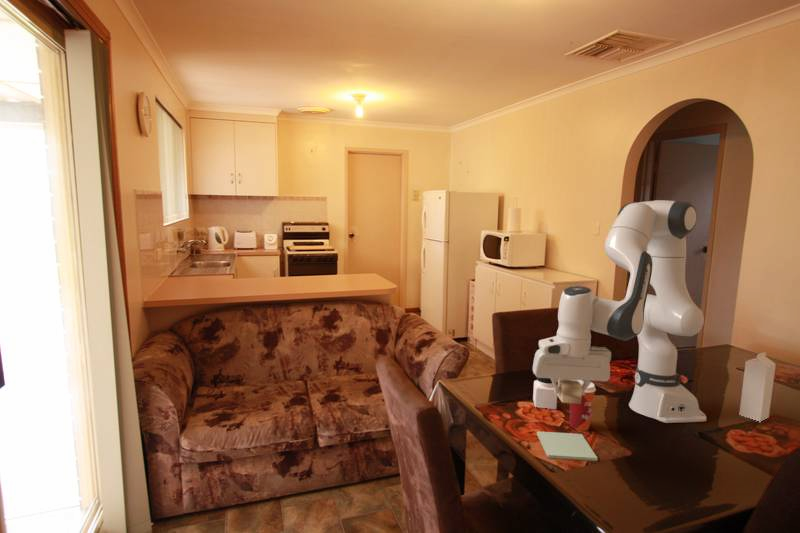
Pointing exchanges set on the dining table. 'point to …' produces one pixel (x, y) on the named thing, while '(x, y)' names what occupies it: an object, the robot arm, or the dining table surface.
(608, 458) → the dining table surface
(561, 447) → the board
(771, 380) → the milk
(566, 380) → the cube
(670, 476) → the dining table surface
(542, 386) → the medicine bottle
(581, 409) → the paper cup
